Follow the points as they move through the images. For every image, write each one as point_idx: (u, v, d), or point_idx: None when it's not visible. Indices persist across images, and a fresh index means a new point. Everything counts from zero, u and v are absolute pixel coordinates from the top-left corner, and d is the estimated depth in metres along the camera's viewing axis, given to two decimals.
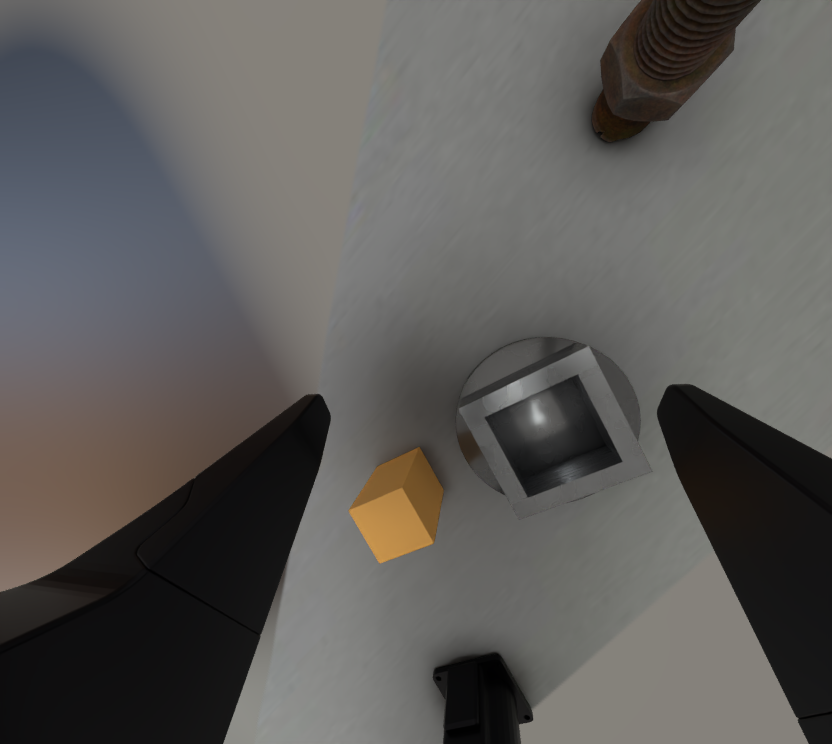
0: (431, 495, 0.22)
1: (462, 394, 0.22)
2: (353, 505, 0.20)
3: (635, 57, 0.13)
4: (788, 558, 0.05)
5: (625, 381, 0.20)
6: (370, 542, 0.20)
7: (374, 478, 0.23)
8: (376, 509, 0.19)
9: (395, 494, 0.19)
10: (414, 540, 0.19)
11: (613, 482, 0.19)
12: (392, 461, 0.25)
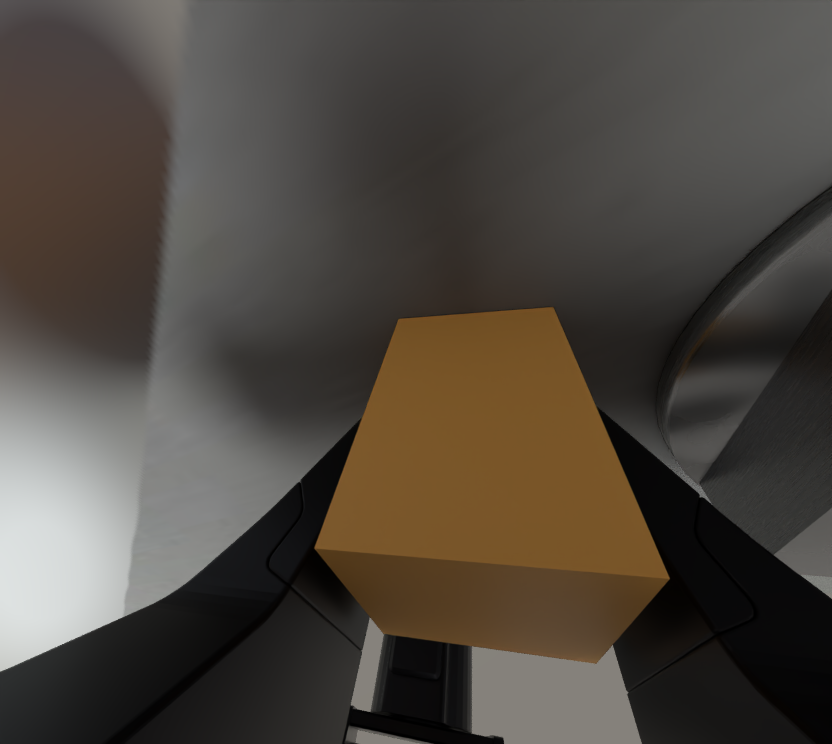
0: None
1: None
2: (339, 515, 0.04)
3: None
4: None
5: None
6: (375, 612, 0.05)
7: (405, 371, 0.07)
8: (456, 580, 0.04)
9: (604, 582, 0.03)
10: (537, 646, 0.05)
11: None
12: (457, 324, 0.08)
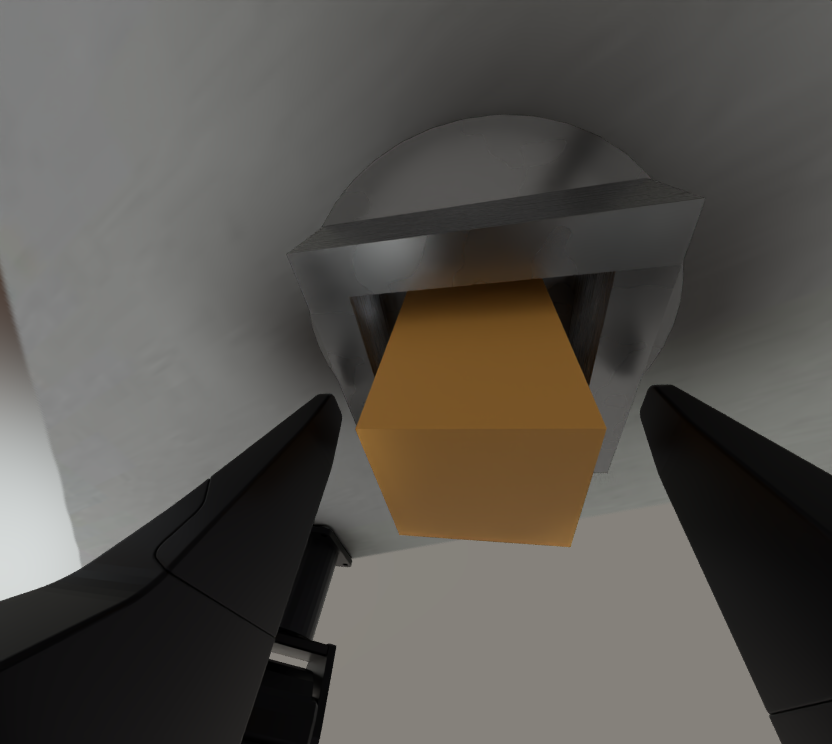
0: None
1: (332, 216, 0.09)
2: (371, 410, 0.06)
3: None
4: (759, 556, 0.05)
5: (670, 311, 0.09)
6: (395, 503, 0.07)
7: (416, 322, 0.08)
8: (459, 451, 0.06)
9: (563, 438, 0.05)
10: (523, 531, 0.07)
11: None
12: (459, 289, 0.09)
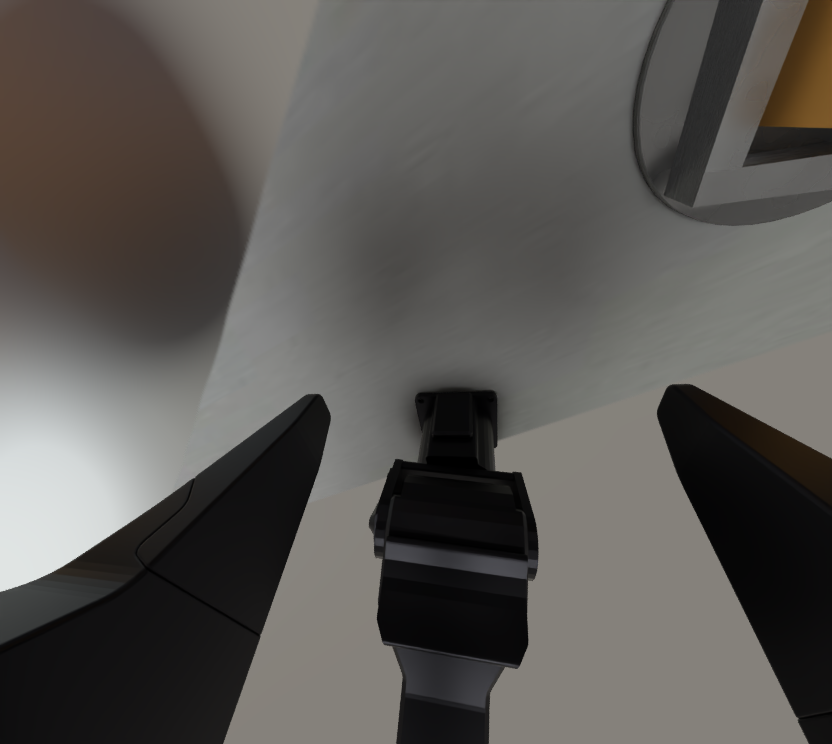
0: None
1: None
2: None
3: None
4: (788, 558, 0.05)
5: None
6: None
7: None
8: None
9: None
10: None
11: None
12: None
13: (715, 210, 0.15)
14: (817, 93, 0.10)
